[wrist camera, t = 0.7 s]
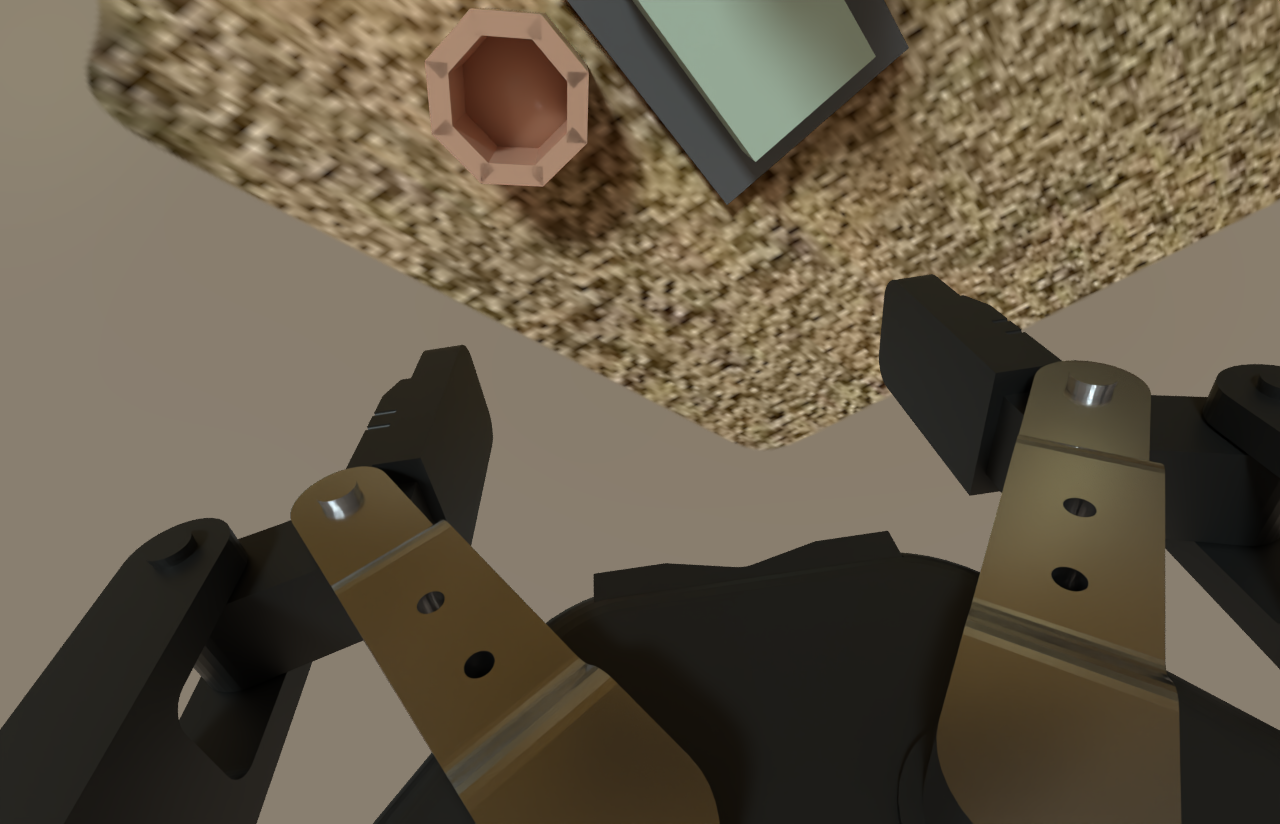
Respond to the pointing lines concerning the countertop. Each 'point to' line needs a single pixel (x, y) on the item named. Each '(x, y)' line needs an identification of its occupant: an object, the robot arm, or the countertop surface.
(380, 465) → the robot arm
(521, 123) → the bowl
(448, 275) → the countertop surface
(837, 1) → the block
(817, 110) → the mat
